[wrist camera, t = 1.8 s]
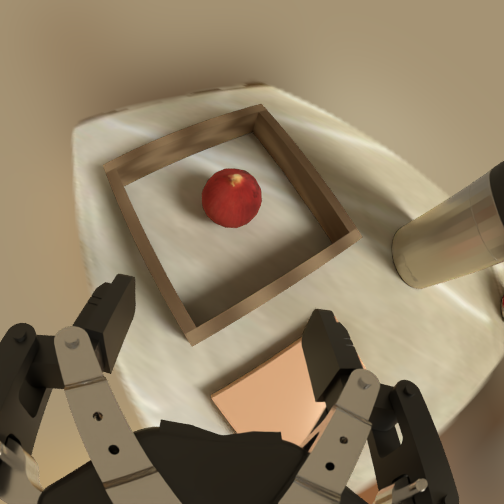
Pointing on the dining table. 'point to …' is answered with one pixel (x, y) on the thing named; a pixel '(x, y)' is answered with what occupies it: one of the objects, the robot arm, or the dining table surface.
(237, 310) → the brown wooden square tray
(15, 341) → the robot arm
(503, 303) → the soda can
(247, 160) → the dining table surface
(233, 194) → the onion
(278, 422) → the terracotta tile
